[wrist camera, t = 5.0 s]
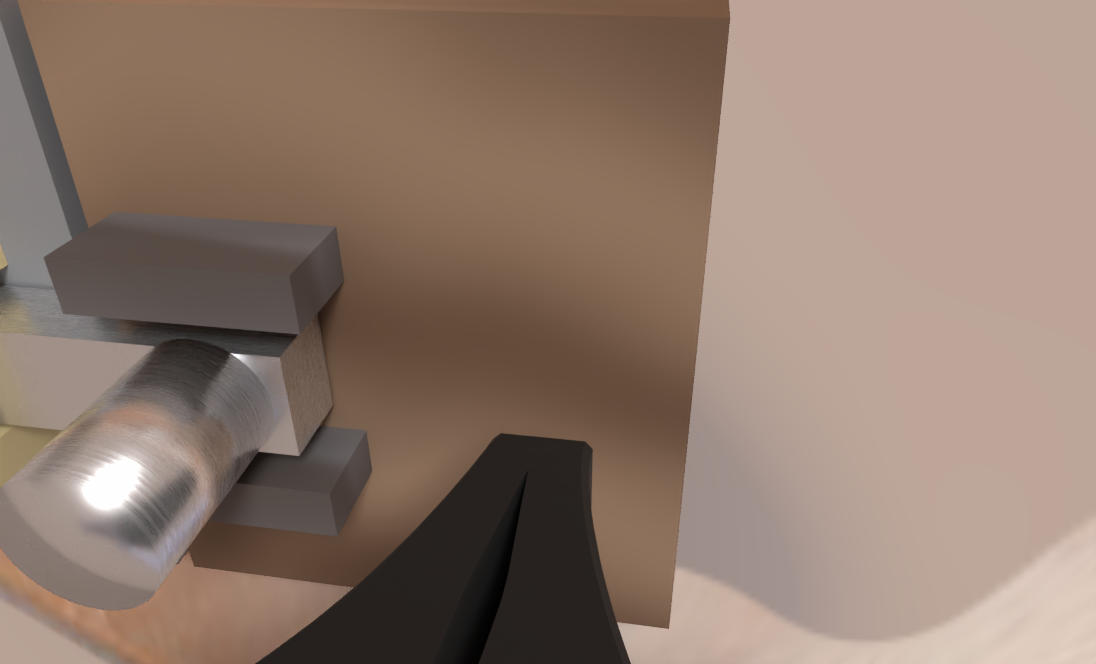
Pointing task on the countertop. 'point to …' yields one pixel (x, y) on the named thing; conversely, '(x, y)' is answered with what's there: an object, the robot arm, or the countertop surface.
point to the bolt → (138, 437)
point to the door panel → (410, 241)
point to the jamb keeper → (29, 198)
